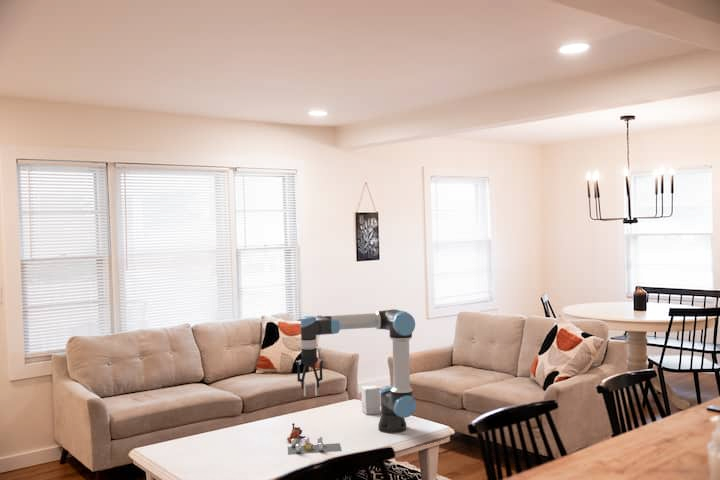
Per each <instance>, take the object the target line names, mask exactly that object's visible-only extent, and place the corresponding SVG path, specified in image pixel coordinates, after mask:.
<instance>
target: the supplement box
mask: <svg viewBox="0 0 720 480" xmlns="http://www.w3.org/2000/svg"><path fill="white" fill-rule="evenodd" d="M360 389H361V391H360V392H361V394H360V395H361V412H362V413H363V414H365V415H366V416H367V415H368V416H369V415H377V414H381V394H380V393H381V388H380V387H378V386H377V385H375V384H373V385H362V386H361V387H360Z"/></svg>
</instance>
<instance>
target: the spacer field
mask: <svg viewBox="0 0 720 480" xmlns="http://www.w3.org/2000/svg"><path fill="white" fill-rule="evenodd" d="M303 439H304V442H303V443H304V444H305V443H310V437H305V438H303ZM290 443H291V446H290V447H292V448H296V454H295V455H301V454H300V453H301V446H302V445H301V443H297V438H296V439H291V441H290ZM323 444H324V442H323V436H318V437H317V445H318V448H319V452H321V453H324V452H323V451H324V449H323Z"/></svg>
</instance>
